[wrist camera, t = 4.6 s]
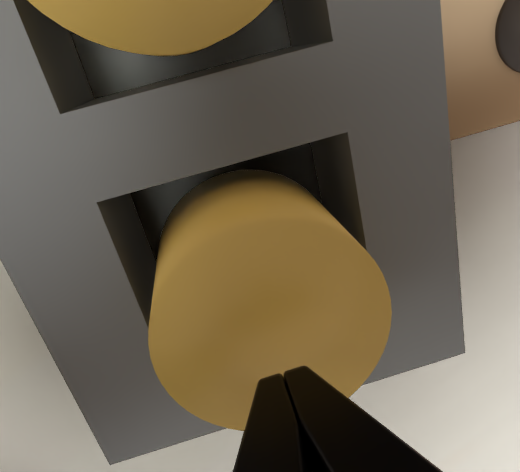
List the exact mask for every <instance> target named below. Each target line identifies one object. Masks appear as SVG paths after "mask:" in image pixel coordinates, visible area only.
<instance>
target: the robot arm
mask: <svg viewBox="0 0 520 472" xmlns="http://www.w3.org/2000/svg"><path fill="white" fill-rule="evenodd" d="M233 472H443V471H441V470H440V469H439V468H437V467H436V466H435V465H434V464H432V463H431V462H430V461H428V460H427V459H426V458H425V457H423V456H422V455H421V454H419V453H418V452H417V451H416V450H414V449H413V448H412V447H410V446H409V445H408V444H407V443H405V442H404V441H403V440H401V439H400V438H399V437H398V436H396V435H395V434H394V433H392V432H391V431H390V430H389V429H387V428H386V427H385V426H383V425H382V424H381V423H380V422H378V421H377V420H376V419H374V418H373V417H372V416H370V415H369V414H368V413H367V412H365V411H364V410H363V409H361V408H360V407H359V406H358V405H356V404H355V403H354V402H352V401H351V400H350V399H349V398H347V397H346V396H345V395H343V394H342V393H341V392H340V391H338V390H337V389H336V388H334V387H333V386H332V385H331V384H329V383H328V382H327V381H325V380H324V379H323V378H322V377H320V376H319V375H318V374H316V373H315V372H314V371H313V370H311V369H310V368H309V367H307V366H300V367H296V368H293V369H290V370H287V371H285V372H284V374H283V375H282V374H280V373H277V374H274V375H271V376H268V377H264V378H261V379H260V380H259V381H258V383H257V387H256V390H255V394H254V398H253V401H252V405H251V408H250V412H249V416H248V419H247V423H246V426H245V430H244V434H243V437H242V441H241V444H240V448H239V452H238V455H237V459H236V462H235V466H234V469H233Z"/></svg>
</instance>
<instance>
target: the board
mask: <svg viewBox="0 0 520 472" xmlns="http://www.w3.org/2000/svg"><path fill="white" fill-rule="evenodd" d="M282 1H283V6H284V12H285V17H286V22H287V27H288V32H289V37H290V42H291V47H288V48H284V49H280V50H276V51H273V52H269V53H265V54H261V55H258V56H254V57H250V58H246V59H243V60H239V61H235V62H231V63H228V64H224V65H220V66H216V67H213V68H209V69H205V70H201V71H198V72H194V73H190V74H186V75H183V76H179V77H175V78H171V79H168V80H164V81H160V82H156V83H153V84H149V85H145V86H141V87H138V88H134V89H130V90H126V91H123V92H119V93H115V94H111V95H108V96H104V97H100V98H96V99H94V96H93V94H92V91H91V88H90V86H89V83H88V80H87V78H86V75H85V72H84V70H83V67H82V65H81V62H80V59H79V57H78V54H77V51H76V49H75V46H74V43H73V41H72V38H71V35H70V33H69V30H67V29H66V28H64V27H62V26H61V25H59V24H58V23H56V22H55V21H53V20H52V19H50V18H49V17H47V16H46V15H44V14H43V13H41V12H40V11H39V10H38V9H37V8H36V7H34V6H33V5H32V4H31V3H30V2H28V1H27V0H0V260H1V261H2V263H3V265H4V267H5V269H6V271H7V273H8V275H9V276H10V278H11V280H12V282H13V284H14V286H15V288H16V290H17V291H18V293H19V295H20V297H21V299H22V301H23V303H24V305H25V307H26V308H27V310H28V312H29V314H30V316H31V318H32V320H33V322H34V323H35V325H36V327H37V329H38V331H39V333H40V335H41V337H42V338H43V340H44V342H45V344H46V346H47V348H48V350H49V352H50V353H51V355H52V357H53V359H54V361H55V363H56V365H57V367H58V368H59V370H60V372H61V374H62V376H63V378H64V380H65V382H66V384H67V385H68V387H69V389H70V391H71V393H72V395H73V397H74V399H75V400H76V402H77V404H78V406H79V408H80V410H81V412H82V414H83V415H84V417H85V419H86V421H87V423H88V425H89V427H90V429H91V430H92V432H93V434H94V436H95V438H96V440H97V442H98V444H99V445H100V447H101V449H102V451H103V453H104V455H105V457H106V459H107V461H108V462H109V464H110V465H112V464H115V463H118V462H121V461H124V460H127V459H131V458H134V457H137V456H140V455H143V454H146V453H150V452H153V451H156V450H159V449H162V448H165V447H169V446H172V445H175V444H178V443H181V442H184V441H188V440H191V439H194V438H197V437H200V436H203V435H207V434H210V433H213V432H216V431H219V430H222V429H226V428H225V427H221V426H217V425H214V424H212V423H209V422H207V421H204V420H202V419H200V418H198V417H197V416H195V415H193V414H191V413H190V412H188V411H187V410H186V409H184V408H183V407H182V406H180V405H179V404H178V403H177V402H176V401H175V400H174V399H173V398H172V397H171V396H170V395H169V394H168V392H167V391H166V390H165V388H164V387H163V386H162V384H161V382H160V380H159V379H158V377H157V375H156V373H155V370H154V367H153V364H152V361H151V358H150V352H149V346H148V328H149V320H150V312H151V304H152V296H153V288H154V280H155V272H156V261H155V258H154V256H153V253H152V250H151V248H150V245H149V242H148V240H147V237H146V234H145V232H144V229H143V226H142V224H141V221H140V218H139V216H138V213H137V211H136V208H135V205H134V203H133V200H132V197H131V195H130V193H132V192H135V191H139V190H142V189H146V188H149V187H153V186H157V185H160V184H164V183H167V182H171V181H174V180H178V179H182V178H185V177H189V176H192V175H196V174H199V173H203V172H207V171H210V170H214V169H217V168H221V167H224V166H228V165H232V164H235V163H239V162H242V161H246V160H249V159H253V158H256V157H260V156H264V155H267V154H271V153H274V152H278V151H281V150H285V149H289V148H292V147H296V146H299V145H303V144H306V143H310V144H311V149H312V154H313V159H314V164H315V169H316V174H317V179H318V184H319V189H320V194H321V200H322V205H323V206H324V207H325V208H326V210H327V211H328V212H329V213H330V214H331V215H332V216H333V217H334V218H335V219H336V220H337V221H338V222H339V223H340V224H341V225H342V226H343V227H344V228H345V229H346V230H347V231H348V232H349V233H350V234H351V235H352V236H353V237H354V238H355V239H356V240H357V241H358V243H359V244H360V245H361V246H362V247H363V248H364V249H365V250H366V251H367V252H368V253H369V254H370V256H371V257H372V258H373V259H374V260H375V262H376V263H377V265H378V267H379V268H380V270H381V272H382V273H383V276H384V278H385V281H386V283H387V286H388V289H389V294H390V298H391V310H392V316H391V327H390V332H389V337H388V341H387V343H386V346H385V349H384V352H383V354H382V356H381V358H380V360H379V362H378V364H377V365H376V367H375V368H374V370H373V371H372V373H371V374H370V376H369V377H368V378H367V379H366V381H365V382H364V383H363V384H362V385H365V384H368V383H371V382H374V381H378V380H381V379H384V378H387V377H390V376H393V375H397V374H400V373H403V372H406V371H409V370H412V369H416V368H419V367H422V366H425V365H428V364H431V363H435V362H438V361H441V360H444V359H447V358H450V357H454V356H457V355H460V354H463V353H465V345H464V331H463V316H462V302H461V288H460V274H459V260H458V245H457V231H456V217H455V203H454V189H453V174H452V160H451V146H450V132H449V118H448V104H447V89H446V75H445V61H444V47H443V33H442V18H441V4H440V0H282ZM362 385H361V386H362Z"/></svg>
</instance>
